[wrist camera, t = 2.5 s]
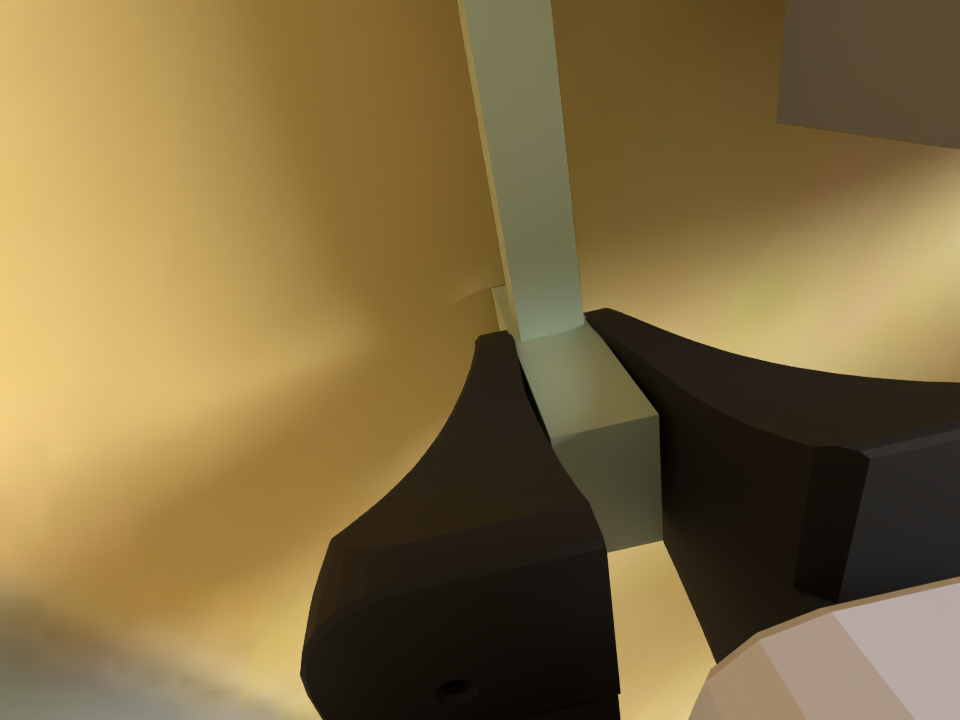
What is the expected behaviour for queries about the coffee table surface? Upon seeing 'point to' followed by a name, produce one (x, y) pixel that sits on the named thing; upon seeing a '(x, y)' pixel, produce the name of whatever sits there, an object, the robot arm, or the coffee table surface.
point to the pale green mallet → (555, 275)
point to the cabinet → (873, 68)
